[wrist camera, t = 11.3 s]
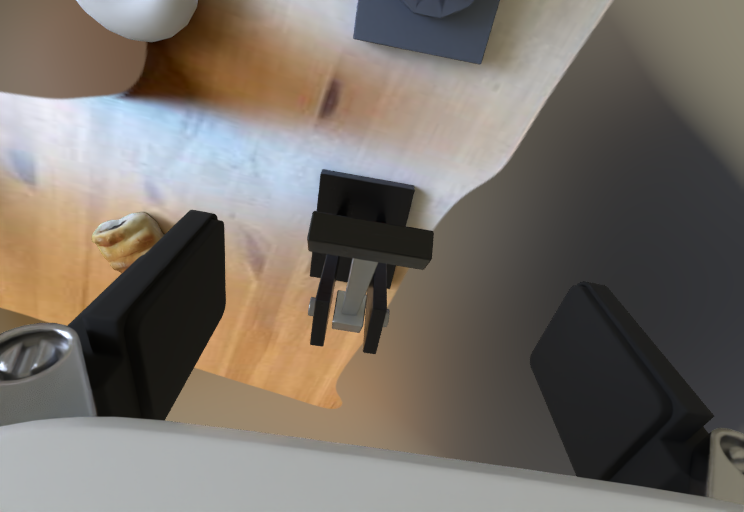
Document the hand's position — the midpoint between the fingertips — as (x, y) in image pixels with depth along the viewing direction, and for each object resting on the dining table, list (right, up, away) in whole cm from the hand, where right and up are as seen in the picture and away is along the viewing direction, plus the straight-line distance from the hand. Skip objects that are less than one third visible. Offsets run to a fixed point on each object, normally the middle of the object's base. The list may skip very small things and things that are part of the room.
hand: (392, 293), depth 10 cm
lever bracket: (-2, +4, +29) cm, 30 cm away
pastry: (-25, +2, +31) cm, 40 cm away
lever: (-1, 0, +13) cm, 13 cm away
